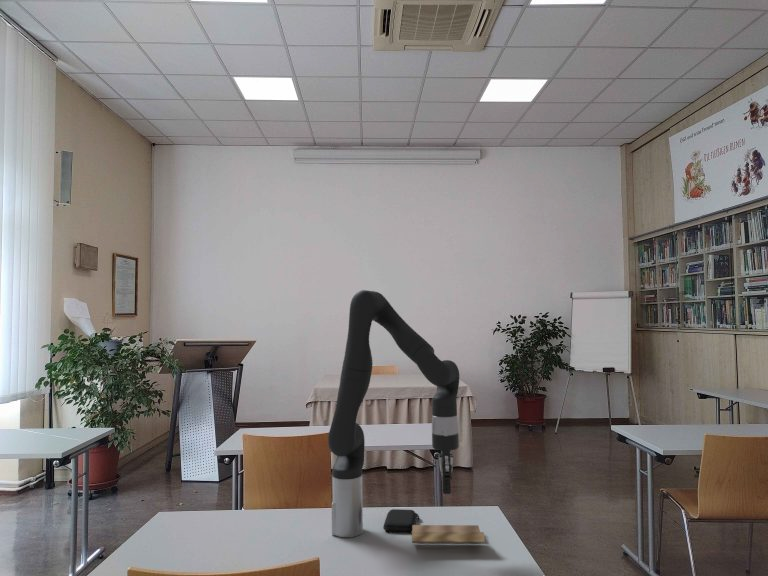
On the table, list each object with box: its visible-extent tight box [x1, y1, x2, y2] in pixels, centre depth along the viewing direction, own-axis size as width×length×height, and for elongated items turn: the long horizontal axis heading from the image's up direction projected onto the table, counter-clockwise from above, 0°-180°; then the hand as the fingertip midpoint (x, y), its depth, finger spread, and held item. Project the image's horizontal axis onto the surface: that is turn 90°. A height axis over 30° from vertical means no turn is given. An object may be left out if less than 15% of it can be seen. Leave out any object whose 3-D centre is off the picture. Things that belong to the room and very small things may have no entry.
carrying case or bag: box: [382, 508, 420, 534], centre depth 172 cm, size 11×3×15 cm
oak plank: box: [411, 531, 486, 544], centre depth 154 cm, size 20×8×2 cm, turn 87°
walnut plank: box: [411, 524, 481, 533], centre depth 162 cm, size 20×6×2 cm, turn 87°
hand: (446, 492), depth 153 cm, fingers closed
